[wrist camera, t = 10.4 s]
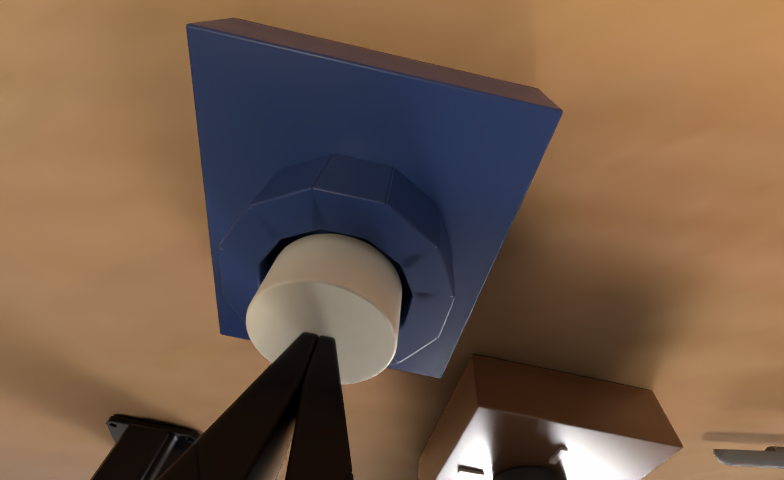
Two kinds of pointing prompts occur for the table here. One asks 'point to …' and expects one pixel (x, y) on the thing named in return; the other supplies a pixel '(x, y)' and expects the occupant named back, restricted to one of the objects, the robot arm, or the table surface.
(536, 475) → the dial
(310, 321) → the cap
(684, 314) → the table surface
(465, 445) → the dial panel
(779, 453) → the walkie-talkie
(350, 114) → the button housing
